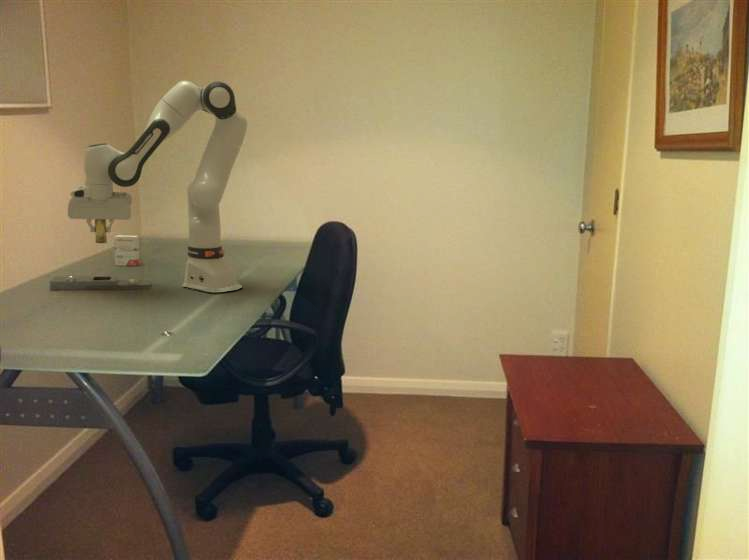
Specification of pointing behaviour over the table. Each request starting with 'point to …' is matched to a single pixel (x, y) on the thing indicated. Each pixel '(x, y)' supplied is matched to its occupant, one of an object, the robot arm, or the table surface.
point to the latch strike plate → (96, 283)
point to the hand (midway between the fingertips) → (100, 232)
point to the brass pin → (100, 231)
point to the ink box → (126, 250)
